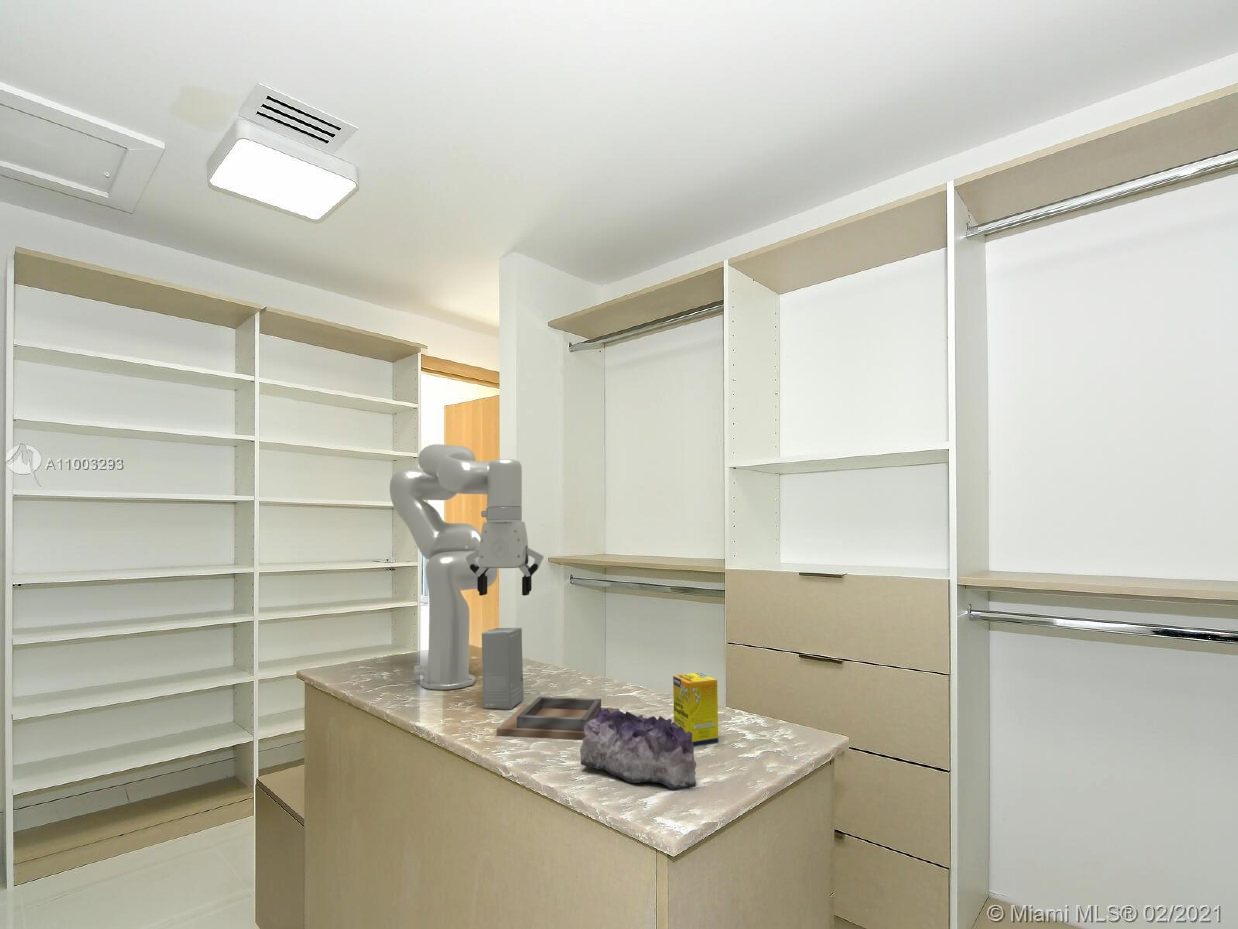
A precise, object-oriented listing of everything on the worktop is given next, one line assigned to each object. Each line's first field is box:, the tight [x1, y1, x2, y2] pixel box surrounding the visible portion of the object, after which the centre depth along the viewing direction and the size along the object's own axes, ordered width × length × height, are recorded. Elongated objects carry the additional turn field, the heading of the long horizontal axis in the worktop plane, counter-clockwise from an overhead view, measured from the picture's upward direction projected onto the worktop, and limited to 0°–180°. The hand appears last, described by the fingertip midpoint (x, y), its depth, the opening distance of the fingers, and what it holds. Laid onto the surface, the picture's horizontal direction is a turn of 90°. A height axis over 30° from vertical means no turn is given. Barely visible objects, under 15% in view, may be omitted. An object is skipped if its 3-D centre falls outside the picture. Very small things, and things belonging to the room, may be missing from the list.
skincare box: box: [481, 627, 524, 710], centre depth 141 cm, size 8×7×16 cm
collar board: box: [496, 696, 620, 741], centre depth 126 cm, size 20×16×3 cm
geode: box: [579, 708, 697, 792], centre depth 102 cm, size 20×12×10 cm, turn 54°
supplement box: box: [672, 672, 719, 747], centre depth 117 cm, size 6×6×11 cm
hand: (504, 595), depth 142 cm, fingers open, 9 cm apart
